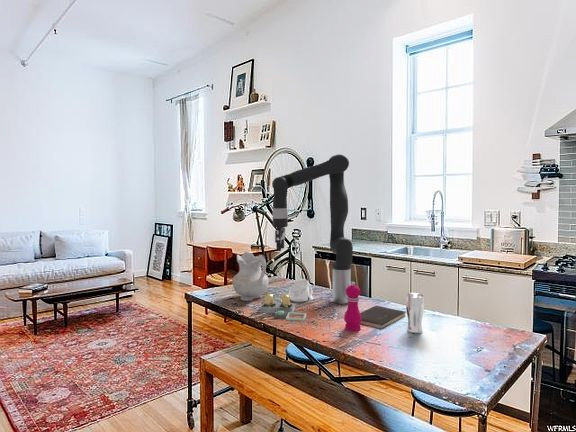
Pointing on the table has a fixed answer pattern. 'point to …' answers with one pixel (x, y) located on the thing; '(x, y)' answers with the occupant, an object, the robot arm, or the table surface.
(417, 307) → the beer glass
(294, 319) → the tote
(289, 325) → the table surface
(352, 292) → the pepper mill
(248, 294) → the ceramic pitcher
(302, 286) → the skull bowl
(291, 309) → the tray
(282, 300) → the billet
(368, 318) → the hardcover book
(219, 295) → the table surface
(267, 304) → the billet
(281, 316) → the console
